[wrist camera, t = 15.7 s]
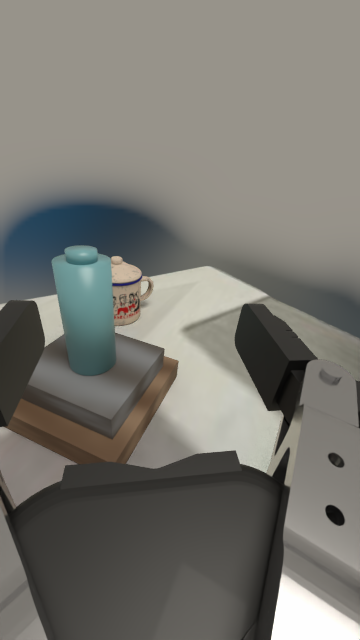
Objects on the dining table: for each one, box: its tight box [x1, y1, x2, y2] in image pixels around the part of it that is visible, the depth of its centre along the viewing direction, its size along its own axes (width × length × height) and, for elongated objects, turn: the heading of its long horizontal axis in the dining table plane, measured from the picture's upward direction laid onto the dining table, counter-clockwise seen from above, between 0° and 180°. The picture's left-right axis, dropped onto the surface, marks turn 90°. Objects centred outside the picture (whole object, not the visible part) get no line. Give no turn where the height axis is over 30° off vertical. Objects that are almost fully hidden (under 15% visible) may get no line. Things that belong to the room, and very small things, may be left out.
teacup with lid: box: [111, 256, 153, 326], centre depth 49 cm, size 12×9×12 cm
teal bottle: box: [52, 246, 116, 376], centre depth 27 cm, size 5×5×13 cm
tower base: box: [5, 333, 178, 464], centre depth 32 cm, size 16×16×6 cm
